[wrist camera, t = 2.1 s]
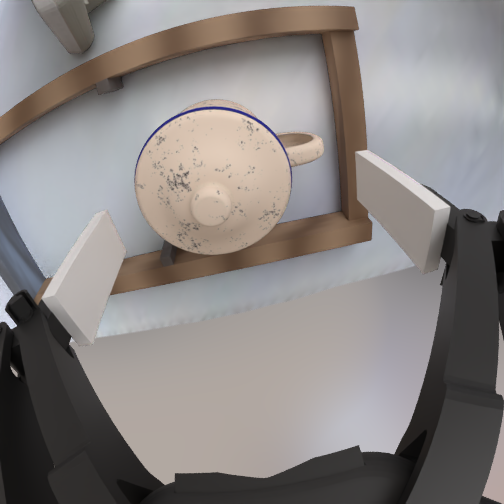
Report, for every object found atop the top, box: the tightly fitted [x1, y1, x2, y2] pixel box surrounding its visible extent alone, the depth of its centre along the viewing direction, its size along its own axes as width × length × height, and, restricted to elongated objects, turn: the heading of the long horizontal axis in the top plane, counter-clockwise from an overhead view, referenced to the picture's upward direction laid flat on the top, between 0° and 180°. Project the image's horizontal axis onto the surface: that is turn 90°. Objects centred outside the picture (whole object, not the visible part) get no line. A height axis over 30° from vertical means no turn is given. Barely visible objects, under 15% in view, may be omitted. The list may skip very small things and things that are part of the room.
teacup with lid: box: [134, 100, 324, 255], centre depth 18 cm, size 12×9×12 cm
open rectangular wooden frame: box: [0, 6, 372, 305], centre depth 21 cm, size 39×21×4 cm, turn 101°
